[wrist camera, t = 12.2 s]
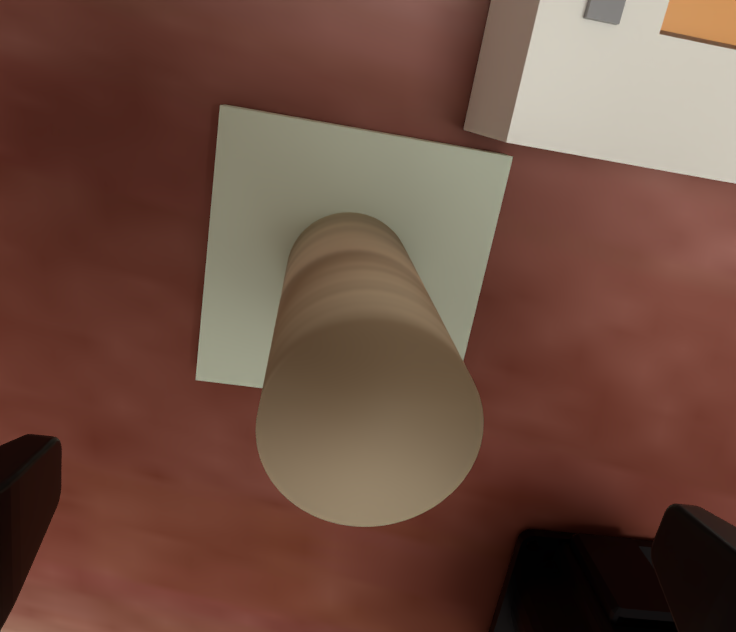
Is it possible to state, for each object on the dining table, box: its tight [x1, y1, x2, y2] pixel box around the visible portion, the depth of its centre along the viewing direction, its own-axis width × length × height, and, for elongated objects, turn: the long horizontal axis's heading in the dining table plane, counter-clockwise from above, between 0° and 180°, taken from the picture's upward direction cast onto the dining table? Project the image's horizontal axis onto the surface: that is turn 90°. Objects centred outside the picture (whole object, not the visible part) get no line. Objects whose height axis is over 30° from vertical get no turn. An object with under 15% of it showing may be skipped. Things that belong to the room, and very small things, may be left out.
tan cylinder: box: [256, 212, 484, 527], centre depth 16 cm, size 4×4×10 cm
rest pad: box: [196, 104, 513, 388], centre depth 21 cm, size 9×9×1 cm
